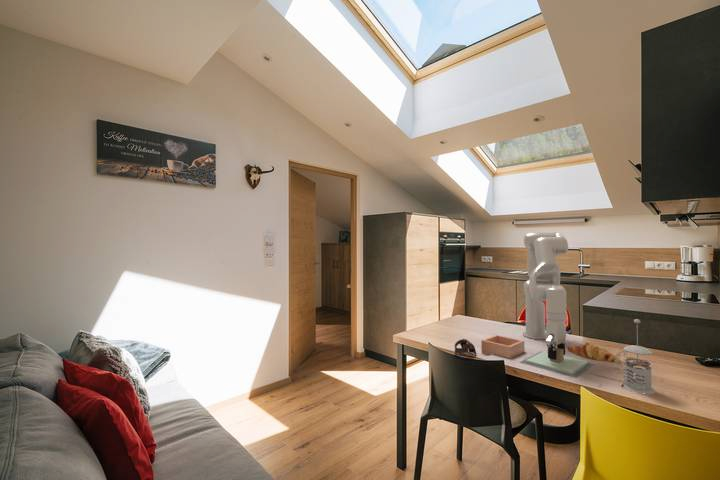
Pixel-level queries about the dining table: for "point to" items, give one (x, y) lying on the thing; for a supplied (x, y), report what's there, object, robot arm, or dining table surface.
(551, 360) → the lid
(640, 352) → the french press
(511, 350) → the shallow wooden crate
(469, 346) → the brown napkin holder
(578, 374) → the mat
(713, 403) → the dining table surface
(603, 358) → the croissant
